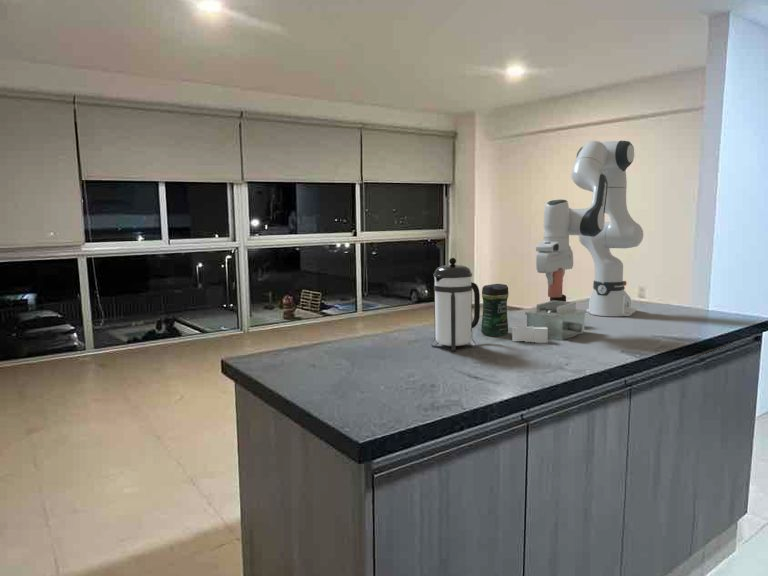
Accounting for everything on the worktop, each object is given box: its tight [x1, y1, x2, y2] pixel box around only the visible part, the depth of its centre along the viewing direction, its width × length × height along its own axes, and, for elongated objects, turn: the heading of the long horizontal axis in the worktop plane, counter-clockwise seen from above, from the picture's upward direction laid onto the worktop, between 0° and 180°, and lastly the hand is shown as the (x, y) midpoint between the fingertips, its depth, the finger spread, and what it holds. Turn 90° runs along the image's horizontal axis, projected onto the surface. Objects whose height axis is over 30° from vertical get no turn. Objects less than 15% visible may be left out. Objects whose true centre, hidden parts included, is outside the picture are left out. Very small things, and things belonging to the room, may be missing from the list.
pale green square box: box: [524, 300, 587, 341], centre depth 197 cm, size 17×18×11 cm
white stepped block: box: [511, 326, 549, 344], centre depth 187 cm, size 15×11×6 cm
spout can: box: [547, 268, 564, 298], centre depth 197 cm, size 5×5×13 cm
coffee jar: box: [480, 283, 509, 337], centre depth 199 cm, size 10×8×19 cm
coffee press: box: [430, 257, 481, 352], centre depth 183 cm, size 17×16×30 cm
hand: (555, 283), depth 198 cm, fingers closed on spout can, 5 cm apart
